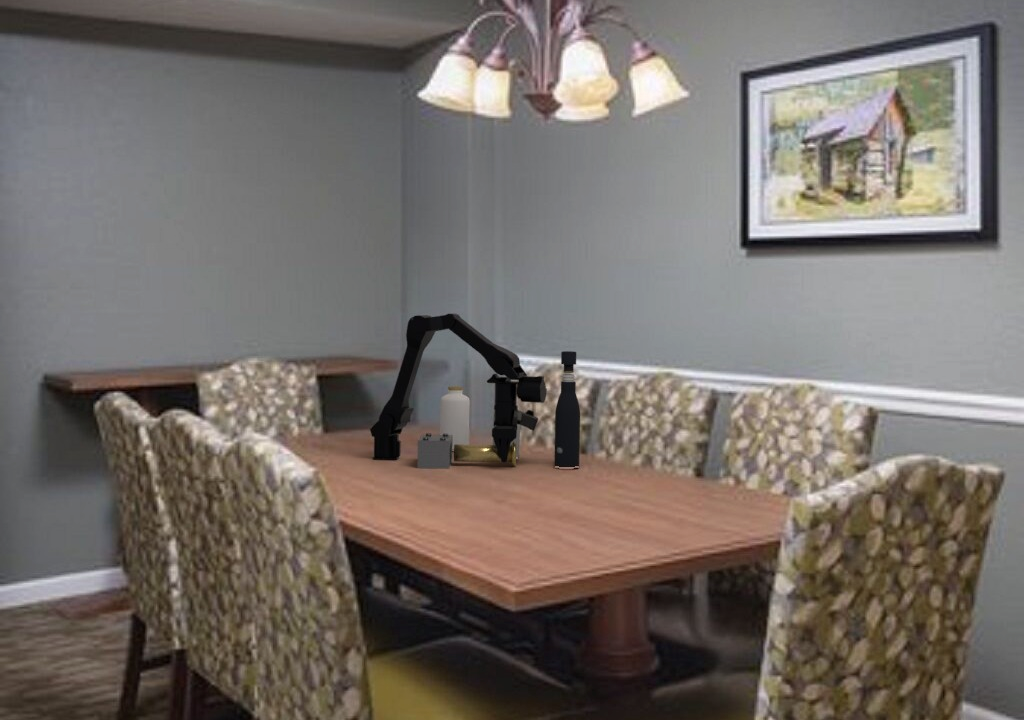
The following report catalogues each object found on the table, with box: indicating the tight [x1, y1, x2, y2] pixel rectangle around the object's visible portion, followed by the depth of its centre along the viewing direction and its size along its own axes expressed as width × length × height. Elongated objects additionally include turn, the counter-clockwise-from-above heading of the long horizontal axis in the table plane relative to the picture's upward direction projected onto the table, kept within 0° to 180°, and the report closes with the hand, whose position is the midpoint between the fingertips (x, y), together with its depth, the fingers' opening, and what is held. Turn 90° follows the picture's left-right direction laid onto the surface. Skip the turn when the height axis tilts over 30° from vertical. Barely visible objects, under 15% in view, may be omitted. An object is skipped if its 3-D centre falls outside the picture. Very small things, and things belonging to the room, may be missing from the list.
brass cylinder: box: [453, 442, 517, 466], centre depth 292 cm, size 16×6×6 cm, turn 89°
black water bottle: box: [553, 350, 581, 467], centre depth 290 cm, size 6×6×30 cm
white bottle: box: [439, 386, 471, 450], centre depth 321 cm, size 8×8×18 cm
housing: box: [417, 432, 453, 469], centre depth 293 cm, size 8×12×8 cm, turn 179°
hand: (504, 461), depth 292 cm, fingers closed on brass cylinder, 4 cm apart
